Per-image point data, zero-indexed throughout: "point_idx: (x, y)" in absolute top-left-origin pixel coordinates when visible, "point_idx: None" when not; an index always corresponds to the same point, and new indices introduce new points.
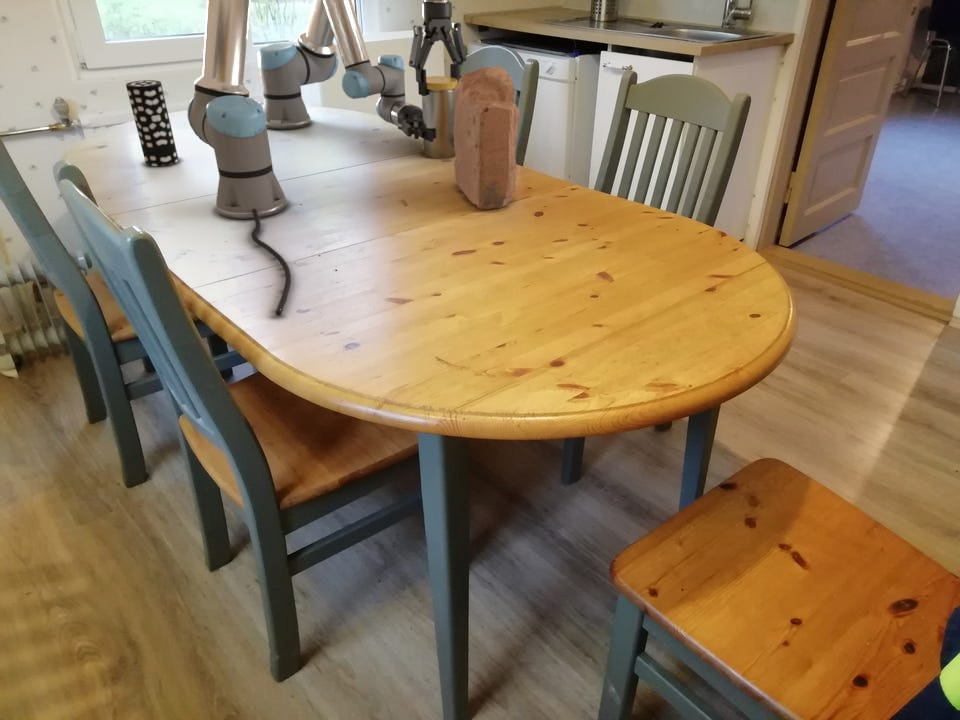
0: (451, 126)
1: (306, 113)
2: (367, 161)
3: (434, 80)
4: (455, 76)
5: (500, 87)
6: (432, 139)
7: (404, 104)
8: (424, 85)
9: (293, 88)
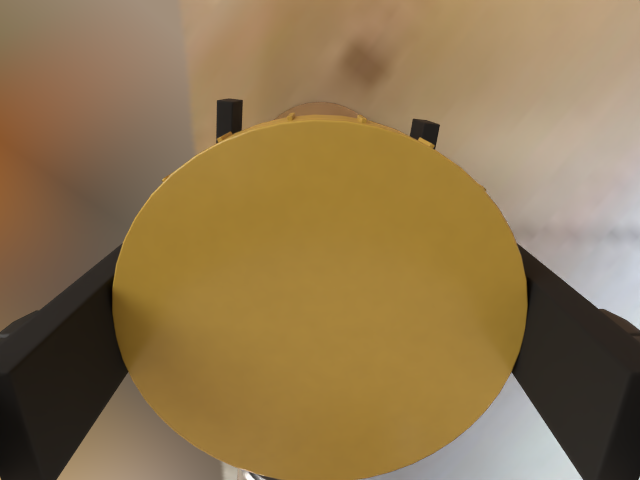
0: (304, 110)
1: None
2: (591, 255)
3: (382, 325)
4: (100, 306)
5: None
6: (420, 120)
7: None
8: (546, 273)
9: None
